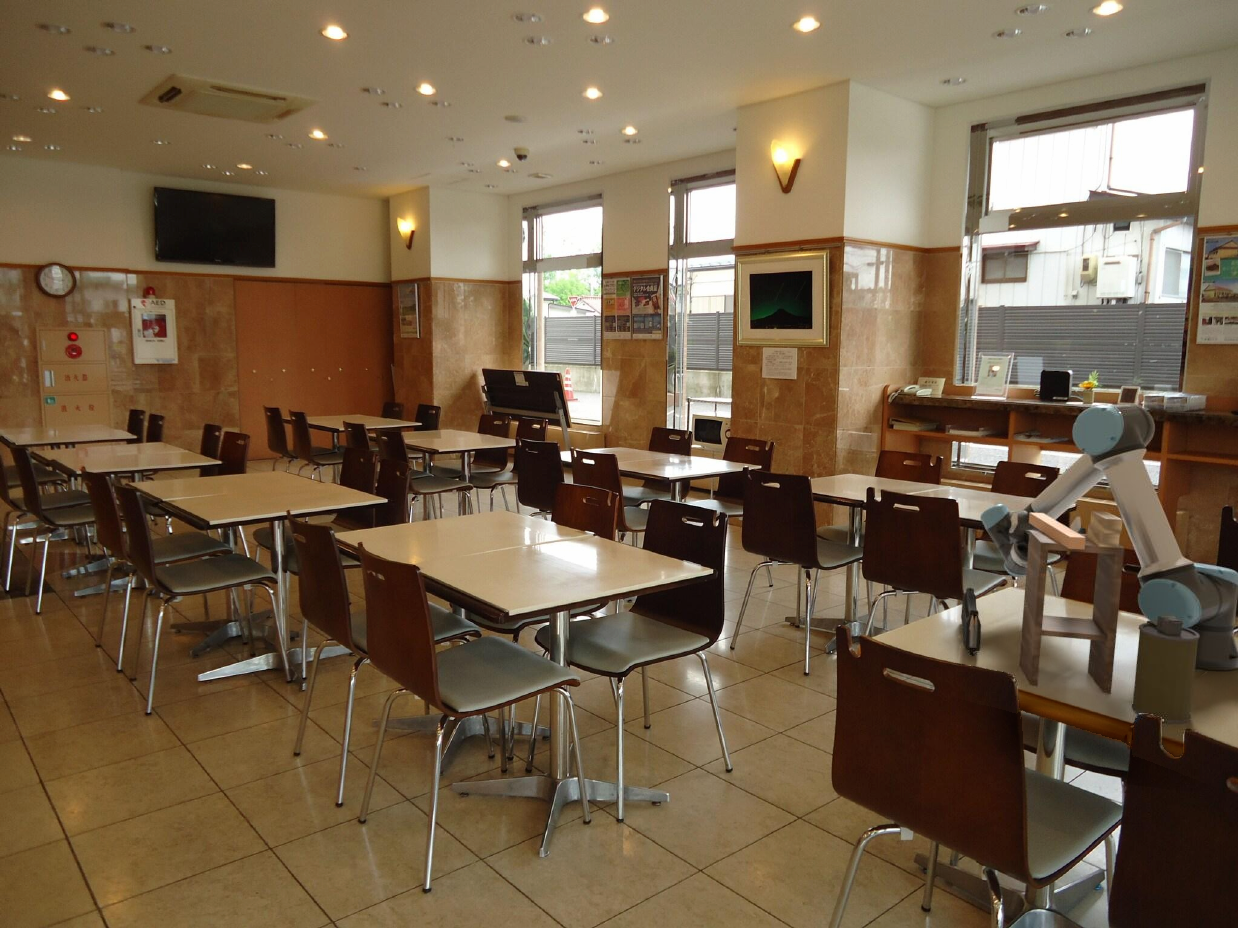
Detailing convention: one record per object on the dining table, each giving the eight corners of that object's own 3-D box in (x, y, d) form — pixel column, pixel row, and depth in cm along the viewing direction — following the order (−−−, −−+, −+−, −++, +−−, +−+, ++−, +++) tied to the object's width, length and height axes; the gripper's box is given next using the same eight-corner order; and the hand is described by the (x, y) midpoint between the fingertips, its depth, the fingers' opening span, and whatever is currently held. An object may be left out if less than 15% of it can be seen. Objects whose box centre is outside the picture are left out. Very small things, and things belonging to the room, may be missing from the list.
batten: (1028, 522, 211) (1029, 512, 210) (1042, 523, 210) (1042, 513, 210) (1069, 548, 183) (1070, 536, 183) (1084, 549, 183) (1085, 537, 182)
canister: (1203, 723, 174) (1213, 626, 172) (1150, 723, 174) (1160, 625, 172) (1168, 702, 185) (1178, 609, 183) (1119, 701, 185) (1127, 609, 182)
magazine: (962, 587, 239) (968, 582, 211) (975, 589, 238) (983, 583, 210) (959, 652, 236) (965, 655, 208) (972, 653, 235) (979, 657, 207)
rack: (1094, 672, 202) (1109, 508, 197) (1111, 694, 189) (1127, 520, 184) (1019, 665, 206) (1031, 504, 201) (1030, 686, 193) (1043, 515, 188)
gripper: (1083, 566, 221) (1107, 539, 202) (977, 558, 228) (990, 531, 209) (1082, 537, 224) (1104, 508, 205) (976, 531, 230) (989, 502, 212)
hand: (1047, 520), depth 207 cm, fingers open, 13 cm apart
